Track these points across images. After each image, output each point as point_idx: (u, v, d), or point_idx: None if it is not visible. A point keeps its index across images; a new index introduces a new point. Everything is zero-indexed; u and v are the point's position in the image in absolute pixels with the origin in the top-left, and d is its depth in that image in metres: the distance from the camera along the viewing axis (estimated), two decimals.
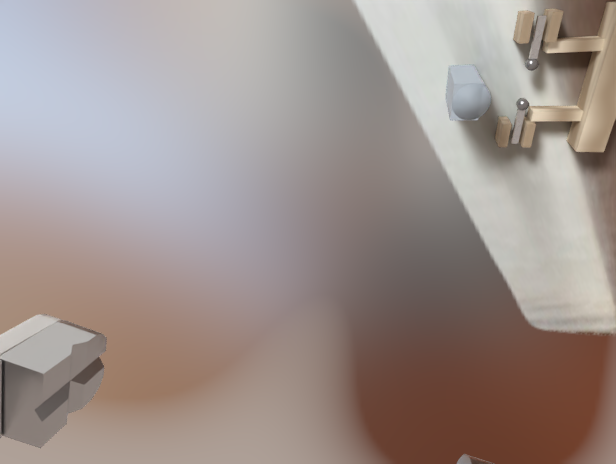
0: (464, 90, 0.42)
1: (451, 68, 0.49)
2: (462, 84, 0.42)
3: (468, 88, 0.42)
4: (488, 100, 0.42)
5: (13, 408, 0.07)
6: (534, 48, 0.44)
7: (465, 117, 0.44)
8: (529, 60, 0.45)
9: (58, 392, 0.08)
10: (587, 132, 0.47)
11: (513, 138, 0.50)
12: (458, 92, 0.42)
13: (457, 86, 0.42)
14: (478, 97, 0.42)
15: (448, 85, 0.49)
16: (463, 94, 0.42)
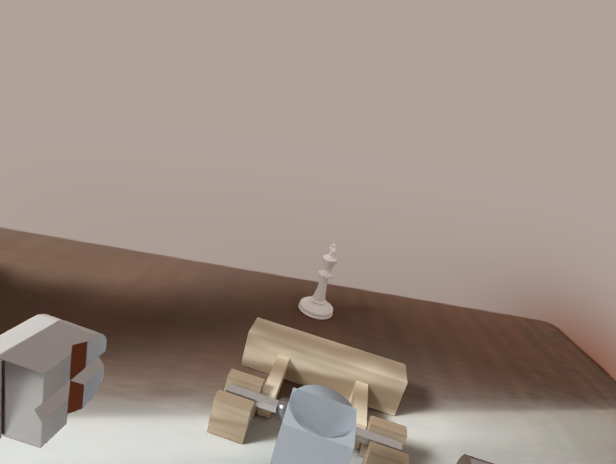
0: (298, 412, 0.22)
1: None
2: (286, 413, 0.21)
3: (296, 406, 0.22)
4: (324, 389, 0.24)
5: (13, 408, 0.07)
6: (263, 399, 0.31)
7: (350, 423, 0.22)
8: (278, 407, 0.31)
9: (57, 393, 0.08)
10: (382, 371, 0.37)
11: (393, 446, 0.30)
12: (300, 421, 0.21)
13: (288, 420, 0.21)
14: (316, 398, 0.23)
15: None
16: (305, 415, 0.21)
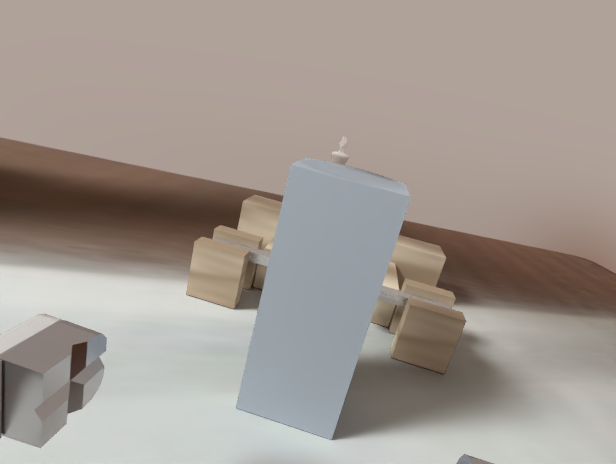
0: (317, 166, 0.14)
1: None
2: (298, 164, 0.13)
3: (313, 164, 0.14)
4: (352, 167, 0.16)
5: (13, 408, 0.07)
6: (262, 253, 0.23)
7: (398, 186, 0.14)
8: None
9: (58, 393, 0.08)
10: (413, 246, 0.29)
11: None
12: (320, 170, 0.13)
13: (301, 165, 0.13)
14: (342, 168, 0.15)
15: (294, 368, 0.15)
16: (328, 170, 0.14)
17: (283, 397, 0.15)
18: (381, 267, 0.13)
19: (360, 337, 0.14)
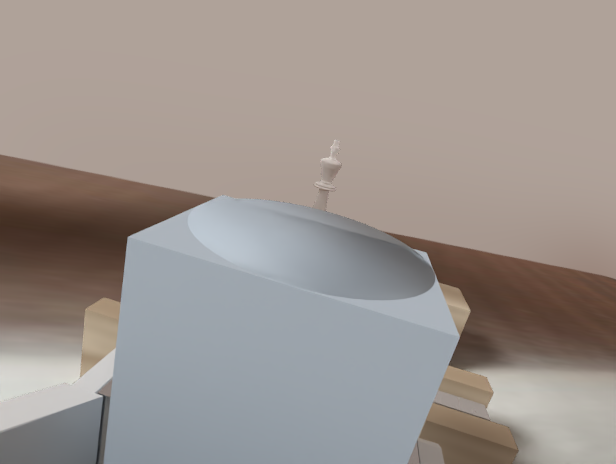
0: (220, 229, 0.06)
1: None
2: (170, 224, 0.05)
3: (218, 219, 0.06)
4: (319, 212, 0.08)
5: None
6: None
7: (417, 275, 0.06)
8: None
9: None
10: None
11: (470, 411, 0.14)
12: (217, 244, 0.05)
13: (165, 235, 0.05)
14: (293, 219, 0.07)
15: None
16: (247, 238, 0.06)
17: None
18: None
19: None
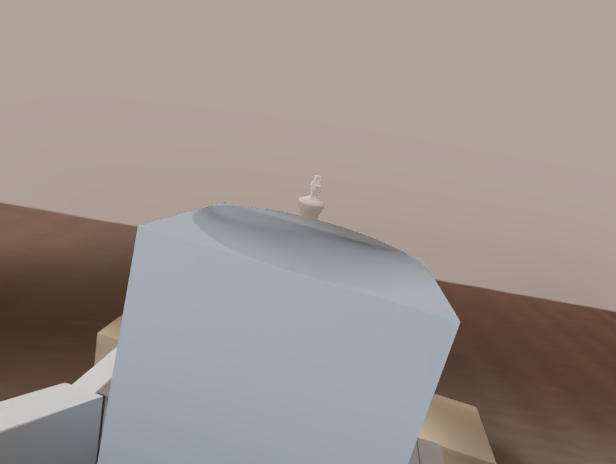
0: (225, 227, 0.06)
1: None
2: (177, 220, 0.06)
3: (222, 219, 0.06)
4: (317, 222, 0.08)
5: None
6: None
7: (415, 274, 0.06)
8: None
9: None
10: (427, 430, 0.15)
11: None
12: (223, 237, 0.05)
13: (173, 227, 0.05)
14: (293, 225, 0.07)
15: None
16: (251, 235, 0.06)
17: None
18: None
19: None
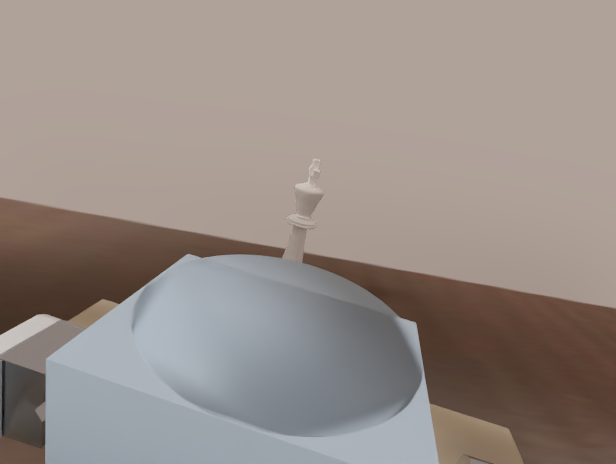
0: (171, 321, 0.05)
1: None
2: (110, 321, 0.05)
3: (172, 302, 0.05)
4: (298, 267, 0.07)
5: (13, 408, 0.07)
6: None
7: (401, 370, 0.05)
8: None
9: None
10: (453, 462, 0.12)
11: None
12: (160, 354, 0.04)
13: (96, 346, 0.04)
14: (265, 286, 0.06)
15: None
16: (201, 333, 0.05)
17: None
18: None
19: None
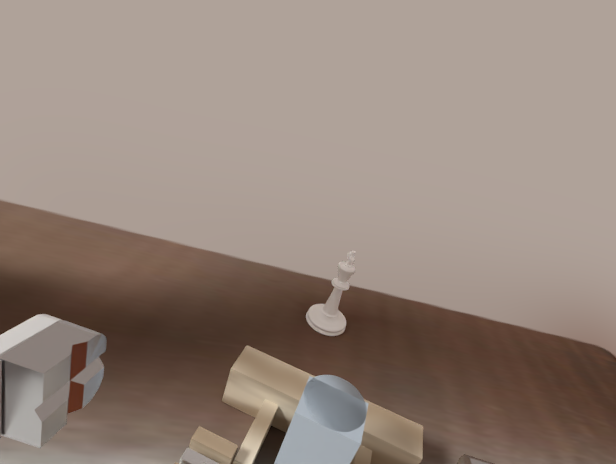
0: (312, 402, 0.23)
1: None
2: (300, 402, 0.23)
3: (310, 396, 0.23)
4: (339, 380, 0.25)
5: (13, 408, 0.07)
6: None
7: (360, 418, 0.23)
8: None
9: (57, 392, 0.08)
10: (391, 437, 0.30)
11: None
12: (312, 411, 0.22)
13: (301, 409, 0.22)
14: (330, 389, 0.24)
15: None
16: (318, 406, 0.23)
17: None
18: None
19: None
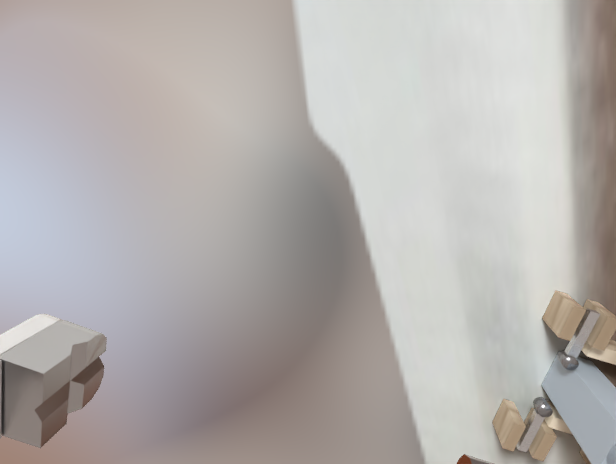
0: None
1: None
2: None
3: None
4: None
5: (13, 408, 0.07)
6: (577, 344, 0.33)
7: None
8: (567, 356, 0.34)
9: (57, 393, 0.08)
10: None
11: (522, 444, 0.37)
12: None
13: None
14: None
15: (562, 384, 0.35)
16: None
17: (556, 373, 0.36)
18: (580, 442, 0.31)
19: (563, 418, 0.33)
